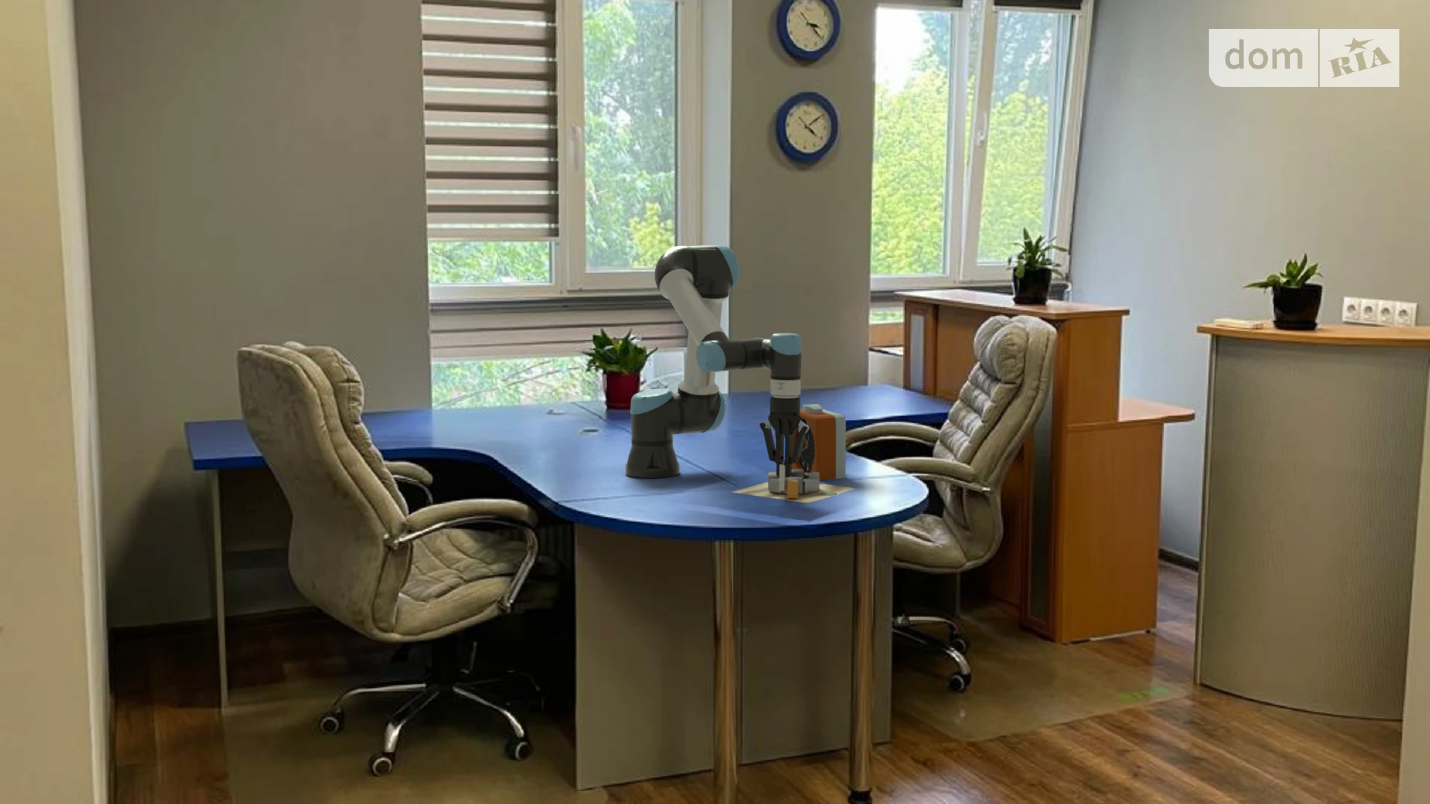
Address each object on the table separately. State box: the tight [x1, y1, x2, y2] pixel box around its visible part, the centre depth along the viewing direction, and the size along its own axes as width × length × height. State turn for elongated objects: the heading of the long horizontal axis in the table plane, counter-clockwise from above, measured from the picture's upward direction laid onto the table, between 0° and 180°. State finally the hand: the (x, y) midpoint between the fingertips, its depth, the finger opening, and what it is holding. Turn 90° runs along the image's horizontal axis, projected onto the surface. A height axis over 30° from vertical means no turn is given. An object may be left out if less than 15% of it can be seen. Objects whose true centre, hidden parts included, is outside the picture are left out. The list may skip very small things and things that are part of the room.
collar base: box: [731, 469, 857, 504], centre depth 344 cm, size 24×22×6 cm
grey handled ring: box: [767, 469, 820, 498], centre depth 342 cm, size 18×13×4 cm
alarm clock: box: [792, 403, 847, 481], centre depth 366 cm, size 18×9×21 cm, turn 21°
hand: (783, 489), depth 335 cm, fingers closed
